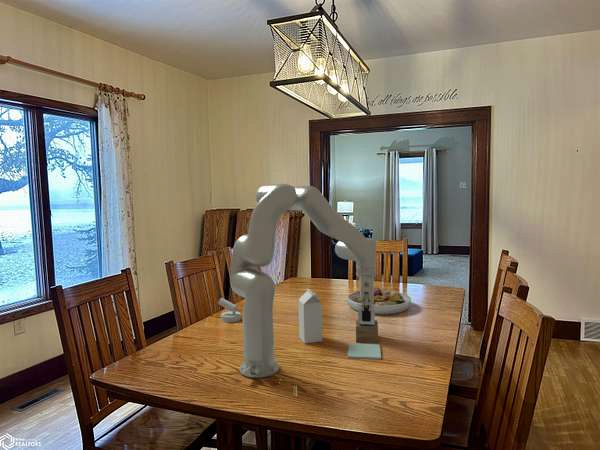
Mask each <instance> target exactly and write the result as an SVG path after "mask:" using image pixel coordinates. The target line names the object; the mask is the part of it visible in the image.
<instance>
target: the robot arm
mask: <svg viewBox="0 0 600 450" xmlns="http://www.w3.org/2000/svg"><path fill="white" fill-rule="evenodd" d="M255 200H256V205H255V206H254V207H253V210H252V211H251V216H250V218H249V219H250V220H249V225H248V233H247V234H244V235H242V236H241V235H240V237H239V238H237V240H236V241H235V242H234V245H233V247H232V254H231V262H230V272H229V273H230V276H229V283H230V284H229V285H230V287H231V290H232V291H233V292H234V293H235V294H236V295H238V296H240V297H242V298H244V304H243V308H242V333H243V334H242V337H243V362H242V363H241V364H240V365H239V370H238V371H239V372H240V374H241V375H243V376H245V377H247V378H258V379H260V378H267V377H270V376H273V375H275V374H277V373H278V371H279V370H280V363H279V362H278V361H276V360H275V344H274V342H275V340H274V337H275V335H274V332H275V331H274V301H275V295H276V284H275V281H274V279H273V278H272V277H271V276H270V275H269V274H268V273H266V272H264V271H261V270H259V269H258V267H259V268H261V267H267V266H269V265H270V264H272V262H273V259H274V255H275V245H276V235H277V233H276V232H277V226H278V223H279V220H280V218H281V217H282V215H283V214H284V213H285V212H286V211H302V212H303V213H304V214H305V215H306V216H307V218H309V220H310V221H311V222H312V224H313V225H314V226H315V227H316V229H317V230H318V231H319V232H321V233H323V234H324V235H326V236H327V237H330V238H333V239H335V240H337V242H336V244H335V246H334V247H335V248H334V253H335V254H336V256H337V257H339V258H341V259H343V260H347V261H353V262H355V271H356V272H355V275H356V276H357V277H358V278H359V281H358V283H359V284H358V285H359V291H360V299H361V303H362V302H363V310H362V321H364V322H370V321H371V311H370V302H372V303H374V288H375V278H374V277H376V276H377V240H376V239H375V238H373V237H372V238H371V237H365V235H364V234H363V233H362V232H361V231H360V230H359V229H358V228H357V227H356V226H355V225H353V224H352V223H350V222H349V221H348V220H346V219H345V218H343V217H342V216H340V215H339V214H338V213H337V211H336V209H334V207H332V205H331V204H330V202H329V201H328V200H327V198H325V196H324V195H323V193H322V192H321V191H320V190H319V189H318V188H317V187H315V186H313V185H298V186H295V185H294V186H293V185H291V184H287V183H275V184H264V185H263V186H260V187H259V189H258V190H257V192H256V195H255ZM364 301H365V302H364ZM368 301H369V302H368ZM364 304H365V305H364ZM368 304H369V305H368Z"/></svg>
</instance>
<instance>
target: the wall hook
mask: <svg viewBox="0 0 600 450" xmlns="http://www.w3.org/2000/svg"><path fill="white" fill-rule="evenodd" d="M217 304H218V305H220V306H222V307H223V308H225V309H227V310H229V311H225V312H222V313H221V314H220V321H221V322H223V323H227V324H228V323H229V324H230V323H237V322H240V321H241V320H242V316H241V314H242V313H241V312H239V310H238V309H239V308H238V306H237V305H235V304H234V303H232V302H231V301H229V300H227V299H225V298H224V297H221V298H219V300H218V301H217Z"/></svg>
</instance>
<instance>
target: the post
mask: <svg viewBox="0 0 600 450" xmlns="http://www.w3.org/2000/svg"><path fill="white" fill-rule="evenodd" d="M364 302H365V301H364ZM368 302H369V301H368ZM368 305H369V304H368ZM355 343H367V344H378V343H379V325H378V319H375V325H374V324H358V319H356V320H355Z"/></svg>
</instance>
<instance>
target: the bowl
mask: <svg viewBox="0 0 600 450" xmlns="http://www.w3.org/2000/svg"><path fill="white" fill-rule="evenodd" d="M346 301H347V304H348V306H349V307H350V308H351V309H353V310H354V311H357V312H358V304H363V302H362V303H361V299H360V290H359V291H354V292H352V293H349V294H348V295H347V296H346ZM411 303H412V298H411V296H409V295H408V294H406V293H403V292H399V291H395V290H388V289H387V290H386V289H385V290H384V289H381V288H379V287H378V286H377V287H374V303H372V302H370V304H374V307H375V315H384V316H385V315H394V314H400V313H402V312H405V311H406V310H407V309H409V307H410V306H411Z"/></svg>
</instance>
